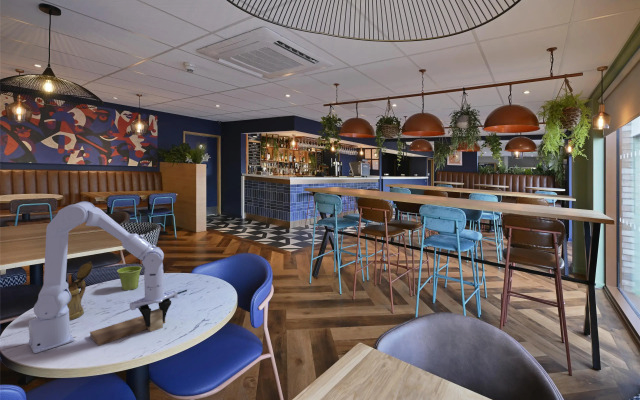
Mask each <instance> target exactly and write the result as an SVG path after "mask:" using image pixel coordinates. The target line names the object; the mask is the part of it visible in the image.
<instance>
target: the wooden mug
mask: <svg viewBox="0 0 640 400" xmlns="http://www.w3.org/2000/svg"><path fill="white" fill-rule="evenodd" d="M92 271H93V263H92V261H91V260H90V261H87V262H85V263H84V264H83V265H81V266H80V267H79V268H78V270H77V272H76V280H75V281H73V283H68V289H69V292H70V293H71V300H70V302H69V303H68V304H67V307H68V308H69V321H72V320H75V319H78V318H80V317H81V316H83V315H84V313H85V310H84V307H83V306H82V299H83V296H84V294H85V292H86V287H87V284H86V281H85V280H84V279H86V278H87V277H89V275H90V274H91V273H92ZM78 287H79V288H80V289H79V288H78Z"/></svg>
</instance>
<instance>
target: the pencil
mask: <svg viewBox="0 0 640 400" xmlns="http://www.w3.org/2000/svg"><path fill="white" fill-rule="evenodd" d="M185 292H188V289H184V290H181V291H177V295H180V294H182V293H185Z"/></svg>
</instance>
